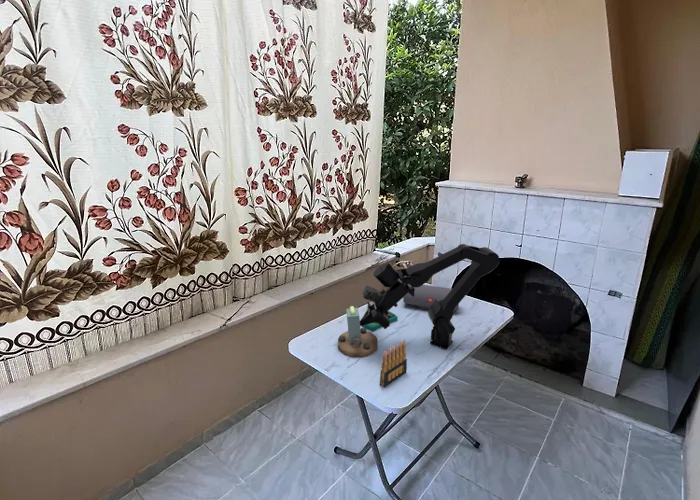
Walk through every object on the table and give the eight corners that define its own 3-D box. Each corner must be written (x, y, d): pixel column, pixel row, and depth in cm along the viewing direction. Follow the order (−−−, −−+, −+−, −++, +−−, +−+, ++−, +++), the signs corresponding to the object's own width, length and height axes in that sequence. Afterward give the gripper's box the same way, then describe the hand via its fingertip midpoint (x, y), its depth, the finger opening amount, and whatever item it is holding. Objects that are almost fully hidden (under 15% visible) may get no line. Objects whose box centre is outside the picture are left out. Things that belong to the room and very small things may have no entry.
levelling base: (374, 335, 141) (375, 322, 139) (380, 356, 128) (380, 342, 126) (337, 336, 140) (337, 323, 138) (339, 358, 127) (339, 344, 125)
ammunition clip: (402, 370, 121) (403, 337, 117) (406, 373, 119) (408, 339, 116) (379, 385, 114) (380, 350, 110) (384, 388, 112) (385, 353, 109)
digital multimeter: (398, 321, 152) (399, 314, 151) (372, 333, 143) (372, 326, 142) (385, 314, 158) (386, 308, 157) (359, 326, 148) (359, 319, 148)
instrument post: (359, 332, 136) (357, 304, 132) (361, 341, 130) (359, 312, 126) (348, 333, 135) (345, 305, 132) (349, 342, 130) (347, 313, 126)
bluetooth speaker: (402, 309, 162) (403, 287, 159) (405, 300, 170) (407, 279, 167) (457, 316, 155) (459, 294, 152) (458, 306, 164) (460, 285, 161)
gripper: (373, 269, 135) (342, 298, 138) (381, 291, 118) (345, 323, 120) (394, 289, 138) (363, 317, 141) (404, 313, 121) (369, 344, 123)
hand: (359, 324), depth 131 cm, fingers closed, pressing on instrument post
